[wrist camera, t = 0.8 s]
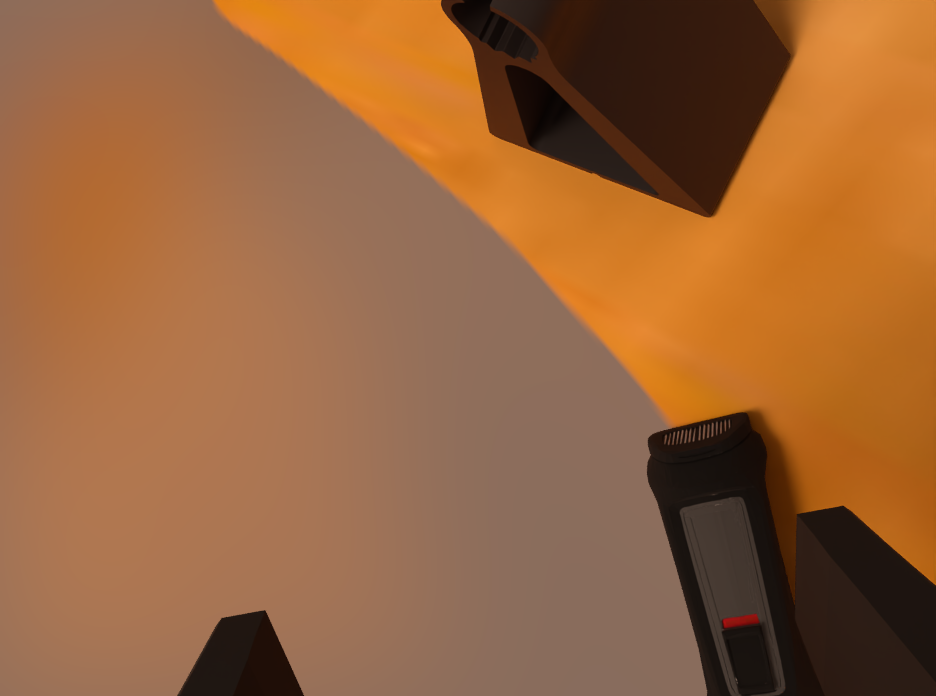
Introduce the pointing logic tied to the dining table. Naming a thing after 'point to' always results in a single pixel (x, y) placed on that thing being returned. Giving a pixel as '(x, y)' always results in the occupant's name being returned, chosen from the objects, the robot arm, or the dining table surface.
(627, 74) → the phone stand
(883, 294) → the dining table surface
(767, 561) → the electric trimmer
